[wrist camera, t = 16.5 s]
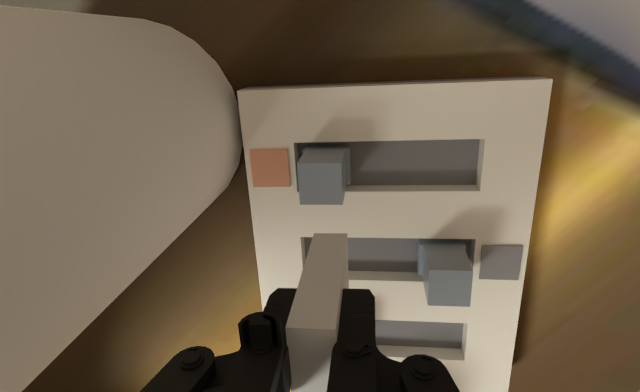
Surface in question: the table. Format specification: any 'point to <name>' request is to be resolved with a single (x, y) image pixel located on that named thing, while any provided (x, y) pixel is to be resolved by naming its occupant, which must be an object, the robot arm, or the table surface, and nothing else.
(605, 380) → the table surface
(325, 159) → the switch tab
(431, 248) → the switch tab
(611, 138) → the table surface
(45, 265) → the cylinder
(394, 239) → the switch bank
